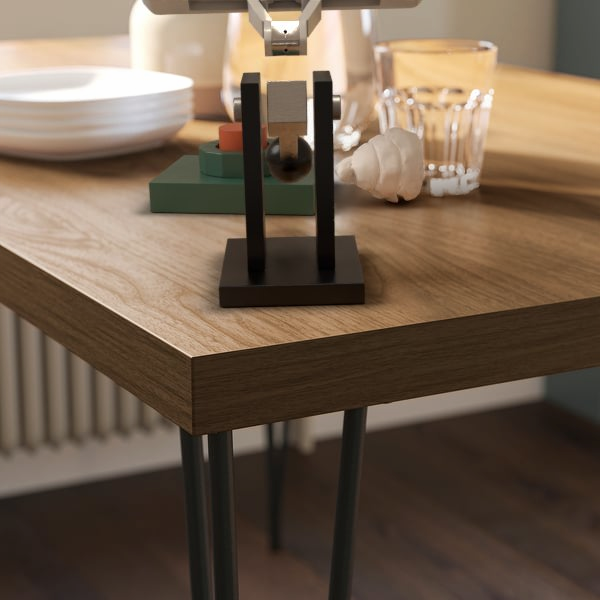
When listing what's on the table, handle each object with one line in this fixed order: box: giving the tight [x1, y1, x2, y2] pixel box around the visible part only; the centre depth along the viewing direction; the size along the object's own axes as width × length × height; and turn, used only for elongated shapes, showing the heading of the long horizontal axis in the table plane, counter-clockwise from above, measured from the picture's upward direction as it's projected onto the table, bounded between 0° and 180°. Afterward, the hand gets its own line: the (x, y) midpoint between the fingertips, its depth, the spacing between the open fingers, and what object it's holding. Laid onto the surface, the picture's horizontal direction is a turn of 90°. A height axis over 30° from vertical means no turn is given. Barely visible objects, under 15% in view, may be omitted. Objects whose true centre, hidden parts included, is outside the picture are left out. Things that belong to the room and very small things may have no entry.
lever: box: [265, 79, 314, 183], centre depth 72 cm, size 14×3×3 cm, turn 0°
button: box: [218, 122, 268, 151], centre depth 88 cm, size 4×4×2 cm
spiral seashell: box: [334, 126, 425, 203], centre depth 86 cm, size 6×6×5 cm
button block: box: [148, 137, 315, 216], centre depth 89 cm, size 12×10×4 cm
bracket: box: [218, 70, 366, 308], centre depth 67 cm, size 10×8×12 cm
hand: (285, 50), depth 80 cm, fingers closed
